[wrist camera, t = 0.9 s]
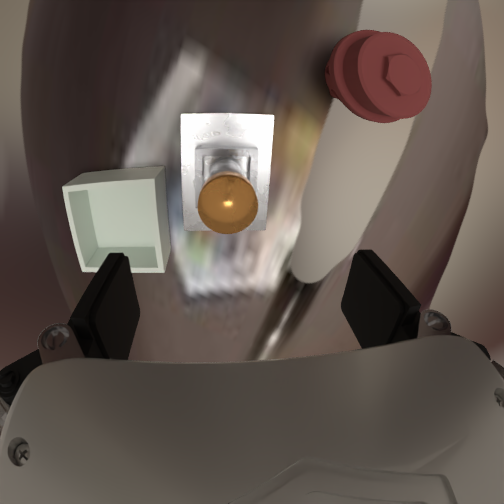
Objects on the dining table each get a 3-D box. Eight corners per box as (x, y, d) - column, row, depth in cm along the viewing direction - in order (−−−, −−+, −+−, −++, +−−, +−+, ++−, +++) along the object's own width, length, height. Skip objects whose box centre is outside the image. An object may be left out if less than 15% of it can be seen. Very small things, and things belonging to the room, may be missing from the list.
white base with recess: (183, 113, 27) (178, 114, 24) (271, 114, 29) (277, 116, 25) (186, 223, 35) (182, 238, 31) (263, 223, 36) (268, 237, 32)
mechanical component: (392, 80, 27) (351, 131, 30) (338, 27, 23) (291, 80, 27) (458, 84, 16) (409, 151, 20) (392, 3, 12) (330, 69, 16)
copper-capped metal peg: (204, 154, 28) (196, 177, 20) (248, 154, 29) (260, 178, 20) (204, 194, 31) (198, 234, 22) (246, 194, 31) (256, 233, 23)
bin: (82, 173, 29) (62, 186, 24) (164, 166, 30) (154, 178, 26) (96, 249, 35) (82, 271, 30) (171, 248, 36) (164, 272, 31)
